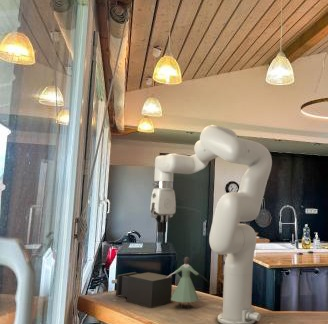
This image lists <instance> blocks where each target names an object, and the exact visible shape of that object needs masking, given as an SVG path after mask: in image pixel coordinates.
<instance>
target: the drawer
mask: <svg viewBox="0 0 328 324" xmlns="http://www.w3.org/2000/svg"><path fill="white" fill-rule="evenodd" d="M136 274H138V272H136V271H134V272H128V273H123V274H117V275H116V278H115V279H112V280H111V284H112V285H114V284H116V285H115V286H116V288H115V296H116V297H120V296H121V297H126V298H127V290H128V276H131V275H136Z"/></svg>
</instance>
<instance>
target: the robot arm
mask: <svg viewBox="0 0 328 324" xmlns="http://www.w3.org/2000/svg"><path fill="white" fill-rule="evenodd" d="M193 150H194V154H192V155H186V154H180V153H168V154H165V155H157V156H156V157H155V161H154V177H153V179H154V181H153V183H152V186H153V189H152V192H151V196H150V204H149V205H150V208H149V209H150V214H151V215H150V217H151V218H153V219H155V221H156V223H157V229H156V230H157V233H161V234H162V233H167V223H168V222H169V220H170V219H171V218H173V216H174V215H175V214H176V210H177V209H176V208H177V207H176V206H177V203H176V192H175V190H174V174H182V175H193V174H195V173H197V172H200V171H202V170H204V169H206V167H207V166H208V164H209V163H210V161H212V160H214V159H217V158H219V159H222V160H224V161H225V162H228V163H230V164H237V165H245V166H248V168H247V169H246V170H245V172H244V173H243V175H242V176H241V180H240V184H239V188H238V189H237V191H230V192H226V193H224V194H223V195H222V196H221V197H220V198H219V200H218V201H217V204H216V206H215V210H214V215H213V219H212V222H211V227H210V231H209V238H208V243H209V246H210V249H211V251H212V252H213V253H215V254H217V255H220V256H225V255H226V257H225V261H224V268H223V288H222V311H221V313H219V314H218V315H217V317H216V318H217V322H218V323H220V324H254V323H255V322H259V321H260V319H261V313H260V312H256V311H255V306H252V297H253V296H252V294H253V274H254V273H253V270H254V258H255V257H254V256H255V251H256V247H257V233H256V231H255V229H254V228H253V227H252V226H251V225H249V224H247V223H241V222H252V221H254V220H256V219H257V218H258V217H259V214H260V211H261V208H262V203H263V200H264V196H265V192H266V187H267V183H268V180H269V177H270V174H271V171H272V165H273V160H272V154H271V153H270V151H269V149H268V148H267V147H266V146H264V144H262V143H260V142H257V141H254V140H251V139H245V138H242V137H238V135H237V133H236V132H235V131H234V130H232V129H230V128H228V127H224V126H219V125H216V124H211V125H207V126H205V127H204V128H203V129H202V131H201V132H200V135H199V139H198V140H197V141H196V142H195V144H194V147H193Z"/></svg>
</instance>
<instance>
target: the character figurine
mask: <svg viewBox="0 0 328 324" xmlns="http://www.w3.org/2000/svg"><path fill="white" fill-rule="evenodd" d="M190 260H191V259H190V258H189V257H188V256H185V257H184V259H183V263H184V264H181V266H179V267H178V268H177V269H176V270H174V272H172V273H170V274H169V275H167V276H168V277H169V276H170V277H173V275H177V274H179V273H180V272H181V277H180V279H179V280H178V284H177V285H176V287H175V289H174V291H173V293H172V294H171V302H172V301H173V302H177V303H178V306H177V307H178V309H182V307H183V305H182V303H186V309H190V308H191V303H192V302H193V303H194V302H197V301H199V300H200V298H199V295H198V293H197V291H196V288H195V286H194V282H193V280H192V278H191V273H192V274H194V275H195V276H197V277H201V278H202V280H204V281H206V282H207V283H208V284H210V281H209V280H208V279H207V278H206V277H205V276H204V275H202V274H200V273H199V272H198V271H196V270H195V269H194V268H193V266H191V264H189V263H190ZM168 277H167V278H168Z"/></svg>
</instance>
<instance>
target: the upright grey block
mask: <svg viewBox="0 0 328 324" xmlns="http://www.w3.org/2000/svg"><path fill="white" fill-rule="evenodd" d="M168 276H169V275H164V274H159V273H154V272H149V271H148V272H143V273H137V274H136V275H131V276H128V290H127V297H126V302H128V303H131V304H136V305H140V306H143V307H147V308H151V309H152V308H156V307H158V306H159V307H160V306H162V305H166V304H170V303H172V300H171V297H172V294H173V293H172V289H173V276H169V277H168ZM167 277H168V278H167Z"/></svg>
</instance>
